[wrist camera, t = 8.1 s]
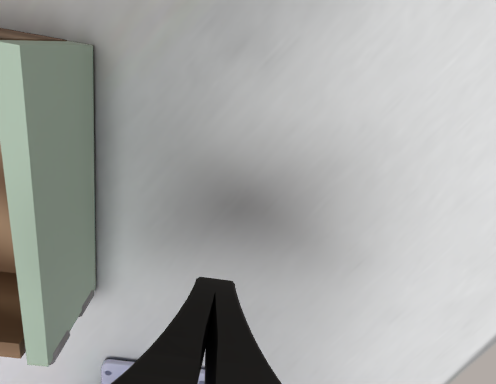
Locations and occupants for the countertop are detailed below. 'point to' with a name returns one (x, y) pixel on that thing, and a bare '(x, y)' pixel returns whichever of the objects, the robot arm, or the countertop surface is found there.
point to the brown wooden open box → (10, 251)
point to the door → (49, 185)
